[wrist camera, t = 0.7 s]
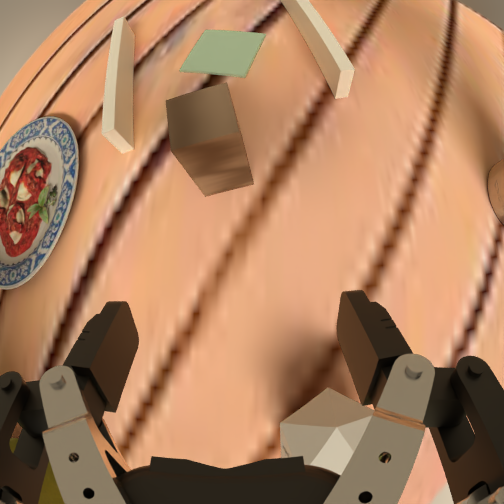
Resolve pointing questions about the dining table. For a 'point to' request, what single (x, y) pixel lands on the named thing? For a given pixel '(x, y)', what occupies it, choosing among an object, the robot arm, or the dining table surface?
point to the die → (325, 430)
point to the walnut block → (208, 139)
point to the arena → (122, 67)
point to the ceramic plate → (35, 196)
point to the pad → (223, 53)
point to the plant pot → (45, 483)
